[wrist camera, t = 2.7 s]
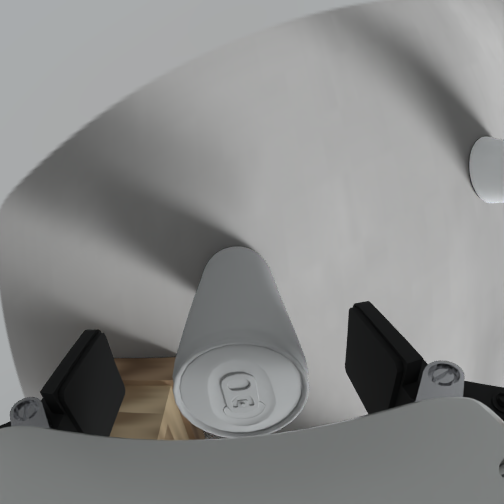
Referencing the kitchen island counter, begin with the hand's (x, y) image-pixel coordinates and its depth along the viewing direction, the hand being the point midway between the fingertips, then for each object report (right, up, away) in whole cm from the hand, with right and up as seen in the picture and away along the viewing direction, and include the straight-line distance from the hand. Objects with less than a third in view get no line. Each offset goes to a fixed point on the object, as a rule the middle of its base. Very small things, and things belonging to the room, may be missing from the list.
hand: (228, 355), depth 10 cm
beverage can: (0, +2, +10) cm, 11 cm away
